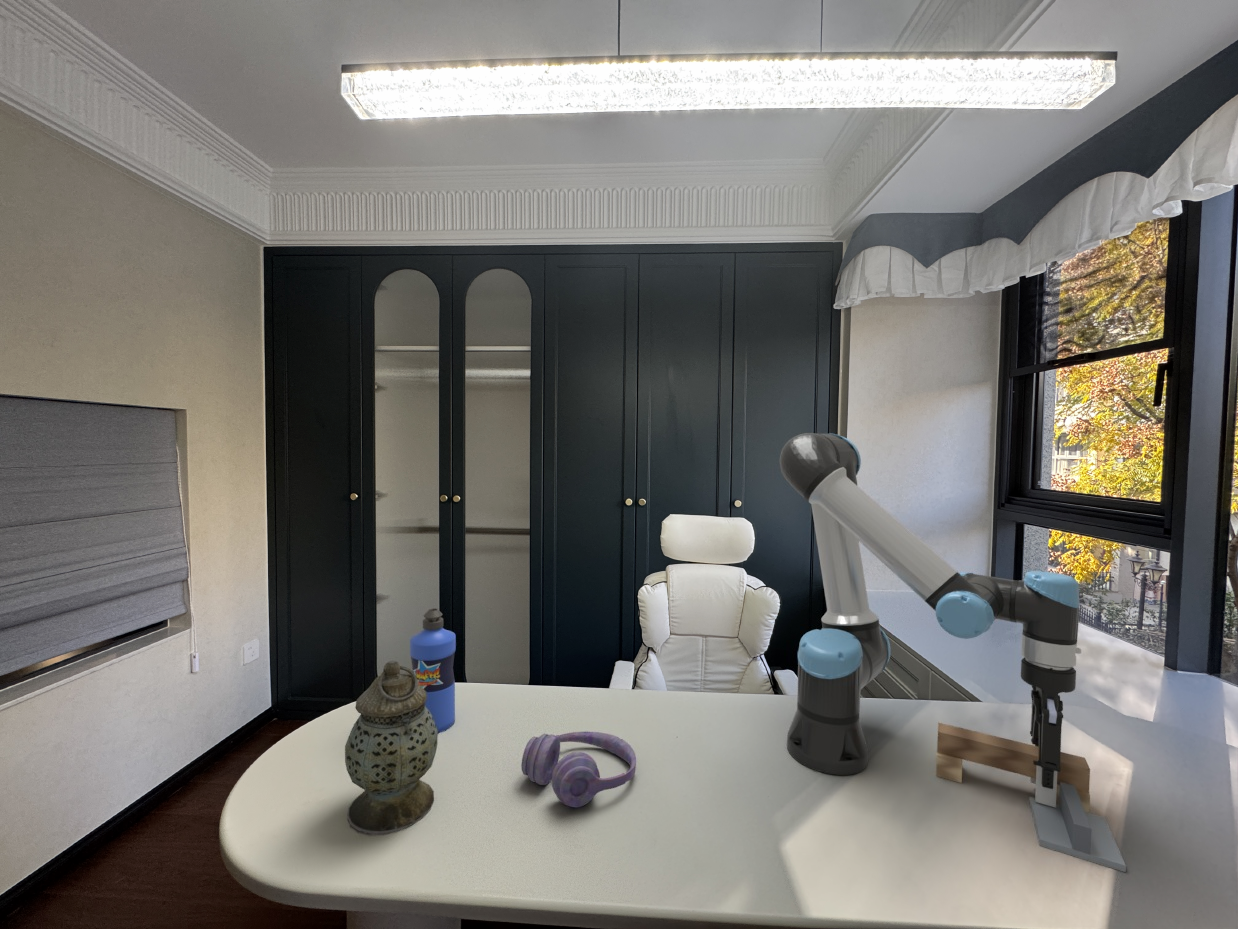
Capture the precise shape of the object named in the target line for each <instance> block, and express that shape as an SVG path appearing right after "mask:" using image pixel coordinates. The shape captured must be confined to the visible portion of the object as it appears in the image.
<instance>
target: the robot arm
mask: <svg viewBox="0 0 1238 929" xmlns="http://www.w3.org/2000/svg"><path fill="white" fill-rule="evenodd" d="M861 462H862V460H861V455H860V452H859V450H858V448H857V446H856V445H855V443H853V442H852V441H851V440H850V439H848V438H846V437H845V436H841V435H840V434H835V433H831V432H829V433H816V432H815V433H814V432H804V433H800V434H797V435H795V436H792V438H790V439H789V440H788V441H787V442H786V443H785V444H784V446H783V447H782V449H781V452H780V456H779V467H780V471H781V474H782V475H783V477H784V479H785V480H786V482H788V484H790V486H791V487H792V488H793V489H794V490H795V491H796V492H797V493H798V494H799V495H800V496H801V497H803V499H805V500H806V501H807V502H808V503H809V504H811V510H812V517H813V523H814V524H813V526H814V531H815V538H816V545H817V551H818V556H819V558H818V559H819V562H820V571H821V578H822V585H823V589H824V590H823V591H824V597H825V604H826V612H825V613H824V615H823V616H822V617H821V619H820V620H821V625H822V628H821V629H817V628H816V629H812V630H810V631H808V632H806V633H805V634H803V636H802V637H801V638H800V641H799V646H798V650H797V665H798V666H797V702H796V703H797V704H796V711H795V714H794V716H793V718H792V721H791V724H790V726H789V729H788V731H787V737H786V738H787V739H786V740H787V741H786V748H787V750H788V752H789V754H790V755H791V756H792V757H793V759H794V760H796V761H798V762H799V763H800V764H802V765H804V766H805V767H807V768H810V769H812V770H814V771H817V772H821V773H823V774H824V773H825V774H830V775H839V776H840V775H841V776H848V775H854V774H857V773H861V772H862V771H864V770H865V769H866V767H867V766H868V762H869V750H868V749H869V748H868V745H867V742H866V739H865V738H866V737H865V735H864V732H863V728H862V724H861V721H860V712H861V710H860V709H861V691H862V689H863V688H864V687H866V686H867V685H868V684H869V683H870V682H871V681H872V680H874V679H875V678H877V677H879V675H881V673H883V672H884V670H885V669H886V668H887V665H888V663H889V661H890V658H891V653H892V652H891V644H890V643H891V642H890V640H889V638H888V635H887V634H886V632H885V631H884V630H883V629H882V628H881V625H880V621H879V620H880V619H879V616H878V614H876V613H875V612H874V611H872V610H871V608H870V605H869V599H868V593H867V587H866V579H865V574H864V568H863V567H864V566H863V561H862V553H861V547H860V543H861V544H862V545H863V546H864V547H865V548H866V549H867V550H868V551H869V552H870V553H871V554H872V555H874V556H875V557H876V558H877V559H878V560H879V561H880V562H881V563H882V564H883V565H885V567H887V569H889V570H890V571H891V572H892V573H893V574H894V575H895V576H896V577H897V578H899V579H900V580H901V581H902V582H903V583H904V584H905V585H906V586H907V587H908V588H910V589H911V590H912V591H913V592H914V593H915V594H916V595H917V596H918V597H920V598H921V599H922V601H924V602H925V603H926V604H927V605H928V606H929V607H930V608H931V609H933V610H934V612H935V617H936V620H937V623H938V624H939V625H940V627H941V628H942V629H943V630H944V631H945V632H946V633H947V634H949V635H951V636H953V637H956V638H959V639H964V640H967V639H968V640H969V639H973V638H976V637H979V636H981V635H983V634H984V633H986V632H987V631H989V630H990V629H991V626H992V625H993V624H994V622H995V620H999V621H1005V622H1011V623H1015V624H1022V633H1021V650H1020V651H1021V652H1020V654H1021V656H1022V657H1023V658H1022V659H1021V662H1020V678H1021V680H1022V681H1023V682H1024V683H1025V684H1027V685H1029V686H1031V688H1032V689H1031V692H1030V696H1031V697H1030V698H1031V716H1030V718H1031V720H1030V731H1029V735H1030V737H1031V739H1030V742H1031V745H1034V746H1038V747H1039V760H1038V761H1034V760H1033V764H1034V765H1037V768H1036V779H1035V778H1032V777H1029V781H1030V783H1031V784H1034V785H1035V791H1034V792H1035V794H1034V795H1035V796H1034V798H1035V801H1036V802H1038V803H1041V804H1045V805H1049V806H1052V807H1056V791H1057V771H1058V772H1060V770H1061V767H1060V755H1061V752H1062V751H1061V749H1062V724H1063V719H1064V714H1063V711H1064V702H1063V700H1061V695H1059V694H1062V693H1072V692H1074V691H1075V690H1076V684H1077V682H1076V681H1077V680H1076V679H1077V671H1076V669H1075V667H1076V665H1077V654H1078V655H1080V654H1082V649H1081V648H1080V647H1077V646H1078V645H1077V644H1078V634H1079V633H1078V632H1079V619H1080V605H1081V604H1080V584H1079V582H1078V580H1076V578H1074V577H1072V576H1070V575H1067V574H1065V573H1058V572H1051V571H1041V570H1030V571H1027V572H1026V573H1025V576H1024V578H1023V580H1022V579H1021V580H1020V579H1019V580H1014V579H1008V578H1002V577H995V576H990V575H989V576H988V575H983V574H976V573H974V572H961V571H959V572H958V570H956V569H955V568H954V567H953V566H952V565H950V564H949V563H948V562H947V561H946V560H945V559H944V558H943V557H941V556H940V555H939V554H938V553H937V552H935V551H934V550H933V549H932V548H931V547H929V546H928V545H927V544H926V543H925V542H924V541H923V540H921V539H920V538H919V537H918V536H916V534H914V533H913V532H912V531H910V530H909V529H908V528H907V527H906V526H905V525H904V524H902V523H901V521H899V520H898V519H897V518H896V517H894V516H893V515H892V514H891V513H890V512H888V511H887V510H886V509H885V508H884V507H883V506H881V505H880V504H879V503H878V502H877V501H876V500H874V499H873V498H872V497H871V496H870V495H869V494H867V492H866V491H864V490H863V489H862V488H861V487H859V485H858V480H857V478H858V477H857V475H858V473H859V472H860V470H861V464H862V463H861ZM859 542H860V543H859Z"/></svg>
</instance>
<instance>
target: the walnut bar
mask: <svg viewBox="0 0 1238 929" xmlns="http://www.w3.org/2000/svg"><path fill="white" fill-rule="evenodd" d="M937 724H938V725H937V740H938V742H936V744H937V746H936V754H937V753H941V754H945V755H949V756H952V757H956V758H960V759H962V760H963V761H964V760H965V761H967V762H968V761H969V762H971V763H976V764H980V765H983V766H986V767H990V768H994V769H999V770H1003V771H1006V772H1009V773H1014V774H1017V775H1020V776H1025V777H1029V778H1030V777H1032V778H1035V779H1036V768H1037V765H1034V764H1033V760H1034V761H1038V760H1039V747H1038V746H1035V745H1034V744H1028V743H1025V742H1021V741H1017V740H1014V739H1013V740H1012V739H1008V738H1005V737H1001V736H996V735H991V734H989V733H984V732H979V731H975V730H972V729H967V728H963V727H960V726H959V727H958V726H956V725H955V726H954V725H950V724H946V723H942V722H938V723H937ZM1060 767H1061V770H1060V772H1058V771H1057V784H1058V785H1060V782H1063V783H1066V784H1070V785H1074V786H1075V787H1076V789H1077V790H1081V791H1084V792H1088V793H1089V794H1090V779H1091V768H1090V766H1089V764H1088V761H1087V759H1086V757H1084V756H1079V755H1074V754H1071V753H1068V752H1063V751H1061V755H1060Z"/></svg>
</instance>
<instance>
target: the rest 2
mask: <svg viewBox="0 0 1238 929" xmlns="http://www.w3.org/2000/svg"><path fill="white" fill-rule="evenodd" d="M1059 790H1060V785H1058V784H1057V791H1056V804H1058V805H1059ZM1076 790H1077V789H1076ZM1077 792H1078V795H1079V797H1080V800H1081V803H1082V805H1083V808H1084V810H1085V812H1087V813H1090V807H1091V794H1090V792H1089V793H1088V792H1084V791H1081V790H1077Z"/></svg>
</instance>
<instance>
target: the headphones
mask: <svg viewBox="0 0 1238 929" xmlns="http://www.w3.org/2000/svg"><path fill="white" fill-rule="evenodd" d="M569 742H570V743H572V742H573V743H582V744H587V745H591V746H595V747H598V748H601V749H603V750H605V751H607V752H609V753H612V754H614V755H617V757H619V758H621V759H623V760H624V761H626V762H627V763H628V764H629V765H630V768H629V769H628V771H627V772H626V773H625V772H622V773H620V774H617V775H614V776H610V777H602V778H601V772H600V771H599V768H598V765H597V762H596V760H594V758H593V757H592V756H591V755H589V754H588V753H585V752H582V751H573V752H570V753H568V754H566V755H564V756H563V757H562V758H560V754H561V743H569ZM559 759H560V760H559ZM520 766H521V772H522V775H525V776H528V778H529V780H530V781H531V782H532V783H536V784H538V785H539V786H540V785H541V786H545V785H548V784H549V783H550V782H551V787H552V790H553V793H554V795H555V796H556V797H557V799H558V800H559V802H561V803H562V804H564V805H566V806H568V807H572V808H580V807H583V806H585V805H587V804H588V803H590V801H591V800H592V799H593V798H594V797H595V796H596V795H597V794H598V793H600V792H603V791H607V790H611V789H617V788H618V787H621V786H623V785H625V784H626V783H627V782H628V781H630V780H631V779H633V777H634V776H635V774H636V767H637V756H636V753H635V750H634V749H633V747H632V746H631V745H630V744H629V743H628V742H627V741H626V740H624V739H622V738H620V737H619V736H617V735H614V734H611V733H605V732H599V731H574V732H573V731H572V732H569V733H562V734H560V735H559V734H556V735H555V734H549V733H542V734H541V735H539V736H533V737H531V738H530V739H529V740H528V742H527V744H526V745H525V748H524V750H523V755H522V758H521V765H520Z"/></svg>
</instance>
